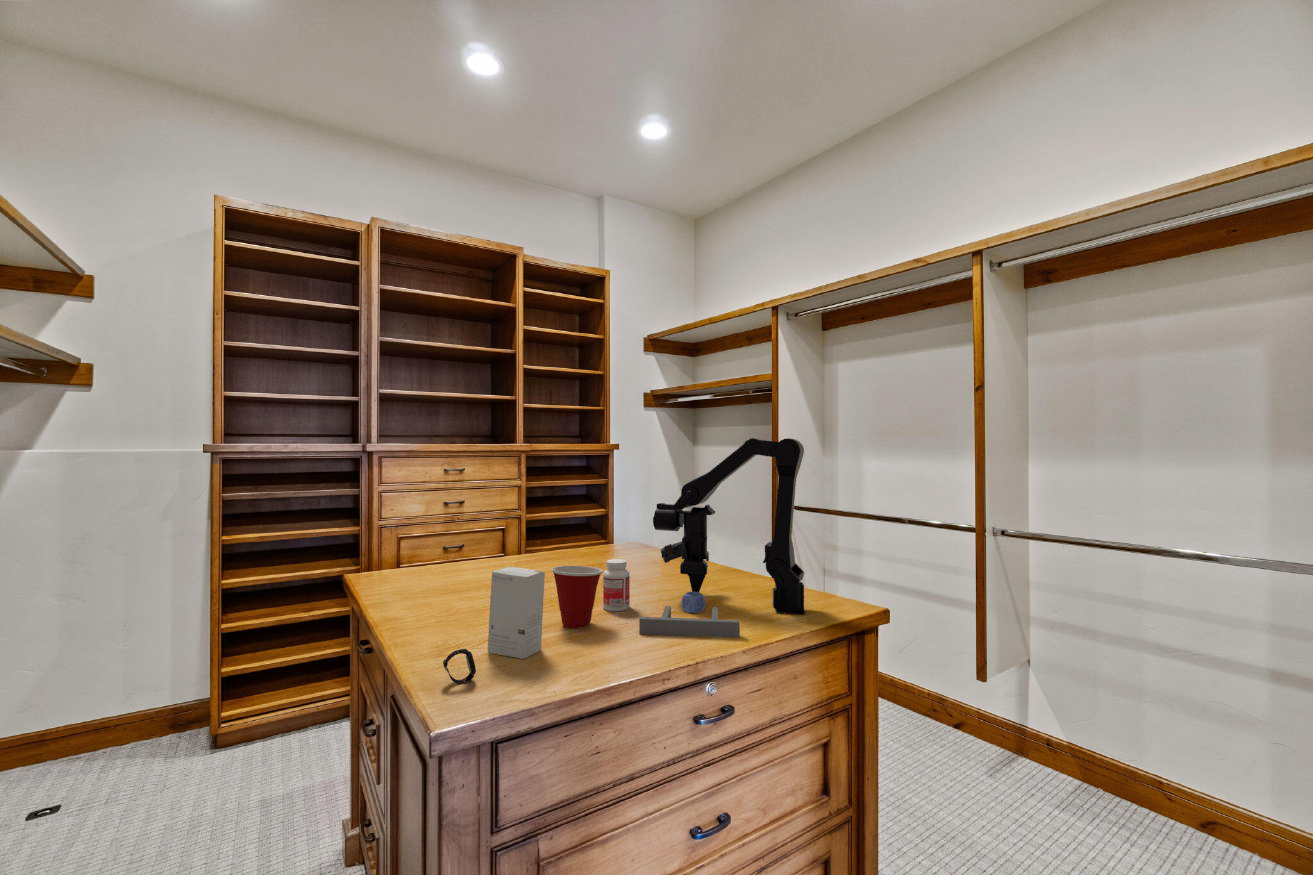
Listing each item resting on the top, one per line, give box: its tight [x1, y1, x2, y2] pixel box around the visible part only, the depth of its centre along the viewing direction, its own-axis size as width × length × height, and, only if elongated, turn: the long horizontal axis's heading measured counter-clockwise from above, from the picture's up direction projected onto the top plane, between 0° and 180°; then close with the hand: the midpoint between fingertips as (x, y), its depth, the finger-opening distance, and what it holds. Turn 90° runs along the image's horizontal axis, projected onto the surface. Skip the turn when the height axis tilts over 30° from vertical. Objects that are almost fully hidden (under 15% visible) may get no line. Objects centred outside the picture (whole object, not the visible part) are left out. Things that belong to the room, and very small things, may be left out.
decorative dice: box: [681, 591, 706, 614], centre depth 130 cm, size 4×4×4 cm
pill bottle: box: [602, 558, 631, 612], centre depth 132 cm, size 6×6×11 cm
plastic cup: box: [551, 565, 604, 630], centre depth 120 cm, size 11×11×12 cm
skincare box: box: [487, 566, 546, 660], centre depth 104 cm, size 8×6×15 cm
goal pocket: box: [638, 605, 741, 639], centre depth 117 cm, size 20×10×3 cm, turn 83°
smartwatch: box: [442, 648, 477, 685], centre depth 90 cm, size 4×5×5 cm
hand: (695, 596), depth 139 cm, fingers closed
